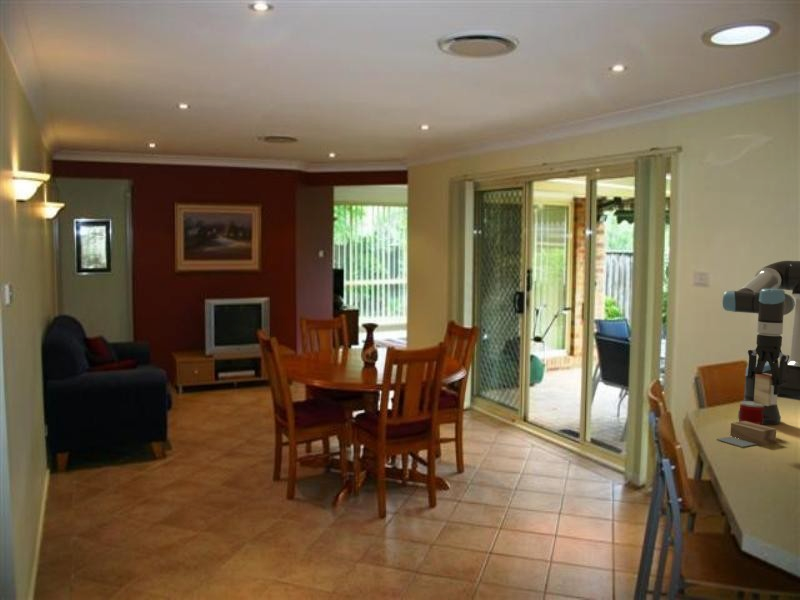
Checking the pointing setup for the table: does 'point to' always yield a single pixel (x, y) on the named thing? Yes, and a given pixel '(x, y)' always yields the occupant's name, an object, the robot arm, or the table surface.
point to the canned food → (751, 412)
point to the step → (753, 432)
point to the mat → (737, 441)
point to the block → (763, 389)
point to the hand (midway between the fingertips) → (765, 401)
